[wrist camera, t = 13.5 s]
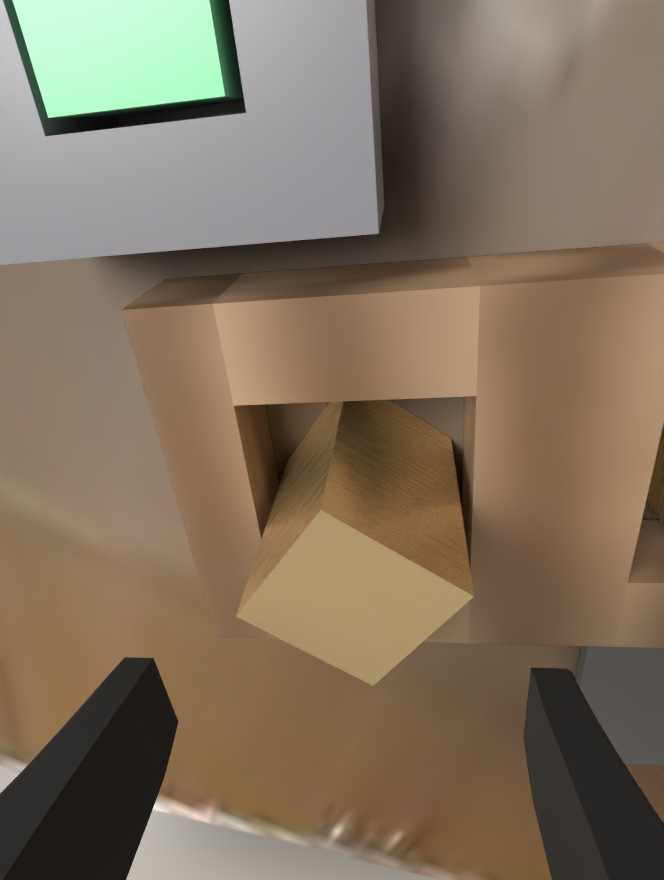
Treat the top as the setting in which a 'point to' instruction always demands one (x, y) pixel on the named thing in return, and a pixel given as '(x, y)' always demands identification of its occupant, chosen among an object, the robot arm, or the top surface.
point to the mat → (626, 698)
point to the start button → (130, 55)
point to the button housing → (203, 147)
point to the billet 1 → (362, 541)
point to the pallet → (434, 376)
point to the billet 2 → (658, 482)
